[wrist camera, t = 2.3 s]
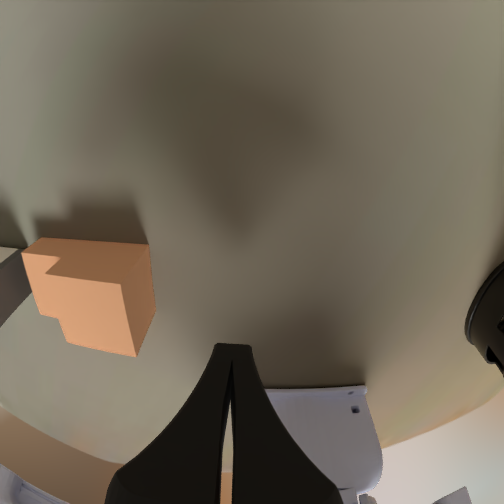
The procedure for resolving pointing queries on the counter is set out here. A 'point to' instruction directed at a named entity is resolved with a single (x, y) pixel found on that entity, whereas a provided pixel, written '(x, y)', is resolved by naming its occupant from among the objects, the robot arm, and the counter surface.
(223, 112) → the counter surface
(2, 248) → the sliding door
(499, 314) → the french press
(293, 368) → the counter surface
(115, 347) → the peach two-level step
